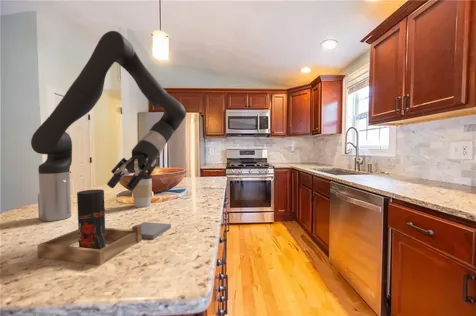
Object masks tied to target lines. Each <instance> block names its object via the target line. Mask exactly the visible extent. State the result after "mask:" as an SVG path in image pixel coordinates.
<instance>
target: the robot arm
mask: <svg viewBox="0 0 476 316" xmlns="http://www.w3.org/2000/svg"><path fill="white" fill-rule="evenodd" d="M114 63H117V64H118V65H119V66H120V67H122V68H123V69H124V70H125V71H126V72H127V73H128V74H129V75H130V76H131V78H132V79H133V80H134V81H135V84H136V85H137V87H138V89H139V90H140V92H141V93H142V94H143V96H144V97H145V98H146V99H147V100H148V101H149V103H150V104H151V105H152V106H153V107H154V108H156V109H160V108H162V109H163V110H164V111H163V112H164V113H163V114H162V116H161V117H160V119H159V120H158V121H157V122H155V123H154V124H153V125H152V126H151V128H150V129H149V130H148V131H147V132H146V133H145V134H144V135H143V136H142V138H141V139H140V140H139V141H138V142H137V144H136V145H135V146H134V147H133V148H132V149H131V157H129V159H126V158H125V157H123V158H121V159H120V161H119V162H118V163H117V164H116V165H115V166H114V167H113V168H112V170H111V173H112V174H113V176H112V177H111V178H110V179H109V180H108V181H107V183H106V185H107V186H108V187H109V188H110V189H114V188H115V187H116V185H118V183H119V182H120V180H121V179H122V178H124V177H125V176H129V175H130V174H135V176H133V175H132V176H133V177H132V176H131V177H130V179H129V182H127V184H126V187H125V188H127V189H128V190H129V191H132V190H133V189H134V188H135V187H136V185H137V184H138V183H139V181H141V180H143V179H144V178H145V179H148V178H149V176H150V175H152V173H153V171H154V170H155V168H156V167H157V165H158V164H157V163H156V160H157V159H158V157H159V156H160V155H161V153H162V151H164V148H165V147H166V144H168V142H169V140H171V138H172V136H173V134H174V133H175V132H176V131H177V129H178V128H179V127H180V126H181V124H182V122H183V121H184V119H185V118H186V115H187V111H186V108H185V107H184V105H183V104H182V103H181V102H180V101H178V100H177V99H176V98H175V97H173V96H172V95H171V94H169V93H168V92H167V91H166V90H165V88H164V87H163V86H162V85H161V83H159V81H158V80H157V79H156V78H155V77H154V76H153V75H152V73H151V72H150V71H149V69H147V68H146V66H145V65H144V64H143V61H142V60H141V59H140V57H139V55H138V54H137V52H136V50H135V48H134V46H133V44H131V42H130V41H129V40H128V39H127V38H126V37H125V36H124V35H123V34H121V33H120V32H118V31H117V30H110V31H107V32H105V33H104V34H103V35H102V36H101V37H100V39H99V40H98V43H97V44H96V45H95V48H94V50H93V51H92V54H91V56H90V57H89V59H88V60H87V62H86V64H85V66H84V67H83V68H82V70H81V71H80V72H79V74H78V76H77V77H76V79H75V80H74V81H73V82H72V84H71V85H70V87H69V88H68V90H67V91H66V93H65V94H64V95H63V97H62V99H61V100H60V101H59V103H58V104H57V105H56V106H55V108H54V110H53V111H52V112H51V113H50V115H49V116H48V117H47V118H46V119H45V121H43V122H42V124H40V126H39V127H38V128H37V129H36V130H35V131H34V133H33V134H32V135H31V136H32V137H31V138H30V139H31V140H30V145H31V148H32V149H33V151H34V152H35V153H37V154H40V155H46V156H47V157H46V160H45V161H44V162H43V163H42V164H40V165H38V169H37V170H38V171H37V172H38V188H39V189H38V190H39V193H38V194H37V207H38V209H37V211H38V220H40V221H41V222H55V221H60V220H65V219H68V218H71V217H72V199H71V198H72V197H71V196H72V195H71V194H72V193H71V177H70V176H71V175H70V170H71V165H72V163H73V162H72V161H73V143H72V142H73V141H72V138H71V136H70V134H69V132H66V131H67V130H68V129H69V127H70V126H72V124H74V123H75V122H77V121H78V120H80V119H82V117H84V116H86V115H87V114H88V113H89V112H91V111H92V110H93V108H94V107H95V106H96V105H97V103H98V102H99V100H100V98H101V96H102V95H103V91H104V87H105V80H106V77H107V74H108V72H109V71H110V69H111V67H112V66H113V64H114ZM145 172H147V174H146V173H145Z"/></svg>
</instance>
